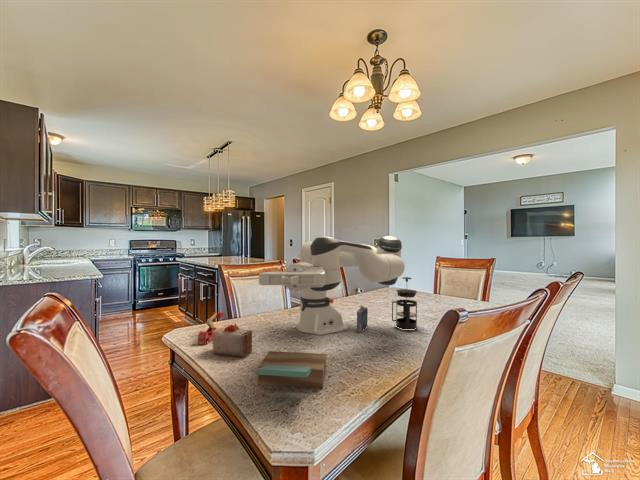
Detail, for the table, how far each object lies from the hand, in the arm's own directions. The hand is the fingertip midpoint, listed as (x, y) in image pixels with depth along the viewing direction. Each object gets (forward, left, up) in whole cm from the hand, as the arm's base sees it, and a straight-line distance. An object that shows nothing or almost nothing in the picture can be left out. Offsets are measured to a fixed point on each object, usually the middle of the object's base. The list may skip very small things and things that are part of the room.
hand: (286, 281), depth 82 cm
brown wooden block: (-3, -3, -29) cm, 29 cm away
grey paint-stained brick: (+13, -27, -29) cm, 42 cm away
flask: (-43, -36, -29) cm, 63 cm away
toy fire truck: (+20, -44, -29) cm, 56 cm away
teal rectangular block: (0, +4, -24) cm, 24 cm away
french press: (-63, -32, -29) cm, 76 cm away
